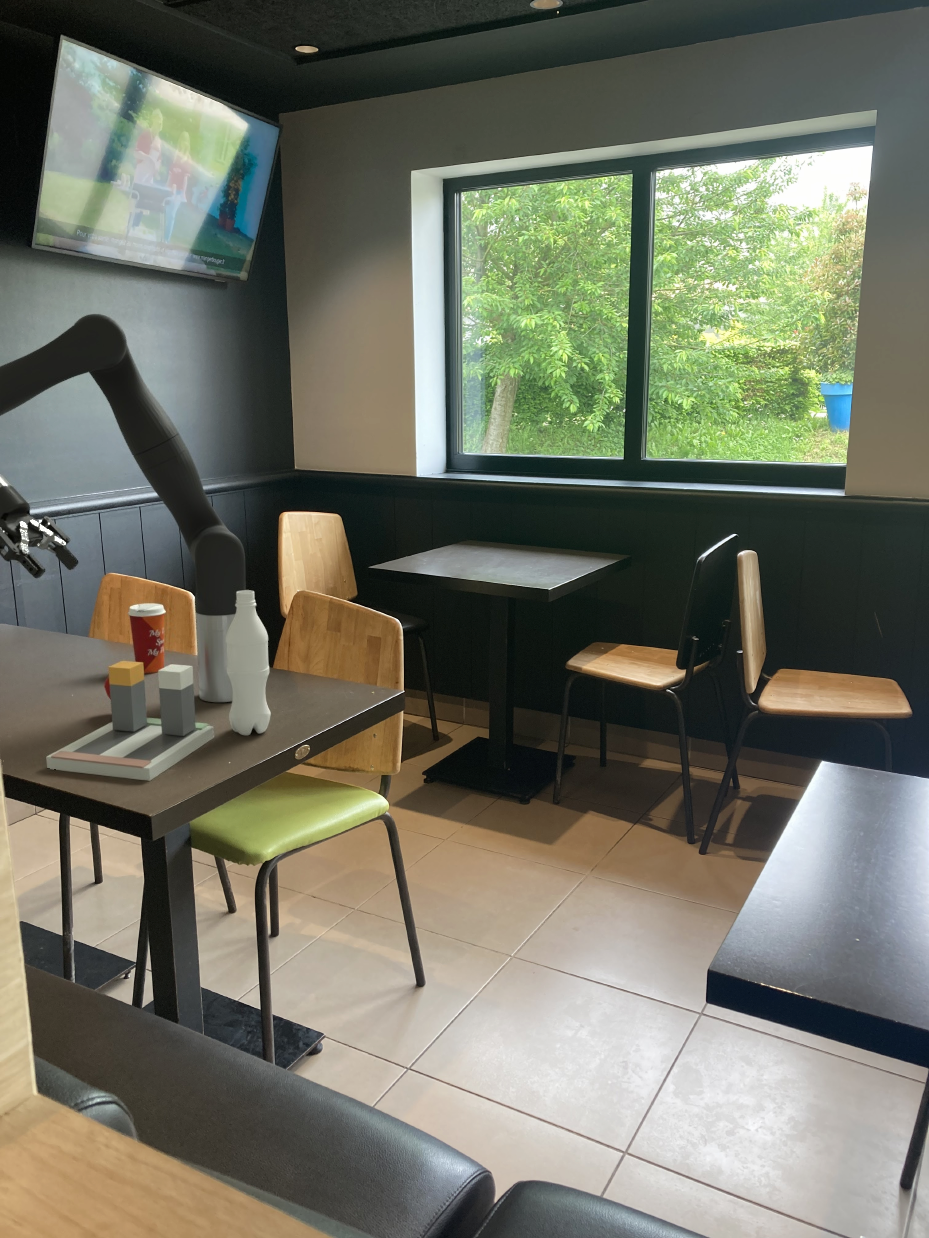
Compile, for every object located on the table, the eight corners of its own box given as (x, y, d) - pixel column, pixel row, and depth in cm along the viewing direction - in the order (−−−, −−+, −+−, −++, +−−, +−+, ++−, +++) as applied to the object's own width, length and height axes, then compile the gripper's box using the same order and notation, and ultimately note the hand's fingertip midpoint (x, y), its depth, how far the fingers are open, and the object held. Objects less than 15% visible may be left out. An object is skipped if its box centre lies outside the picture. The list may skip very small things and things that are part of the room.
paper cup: (162, 675, 198) (158, 610, 195) (126, 674, 198) (121, 609, 195) (173, 665, 205) (170, 602, 202) (139, 664, 205) (135, 602, 202)
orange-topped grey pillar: (126, 722, 161) (122, 660, 159) (147, 724, 160) (143, 662, 158) (112, 729, 158) (108, 666, 155) (133, 731, 157) (129, 668, 154)
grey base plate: (122, 727, 165) (117, 654, 162) (214, 736, 161) (211, 662, 158) (46, 769, 146) (39, 687, 143) (149, 781, 142) (143, 697, 139)
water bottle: (235, 740, 160) (229, 597, 155) (225, 727, 166) (219, 589, 161) (276, 733, 163) (271, 594, 158) (264, 721, 169) (260, 586, 164)
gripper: (-27, 487, 148) (42, 562, 148) (34, 480, 162) (97, 549, 161) (-51, 519, 150) (16, 593, 150) (10, 510, 164) (72, 578, 164)
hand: (58, 570), depth 156 cm, fingers open, 8 cm apart
